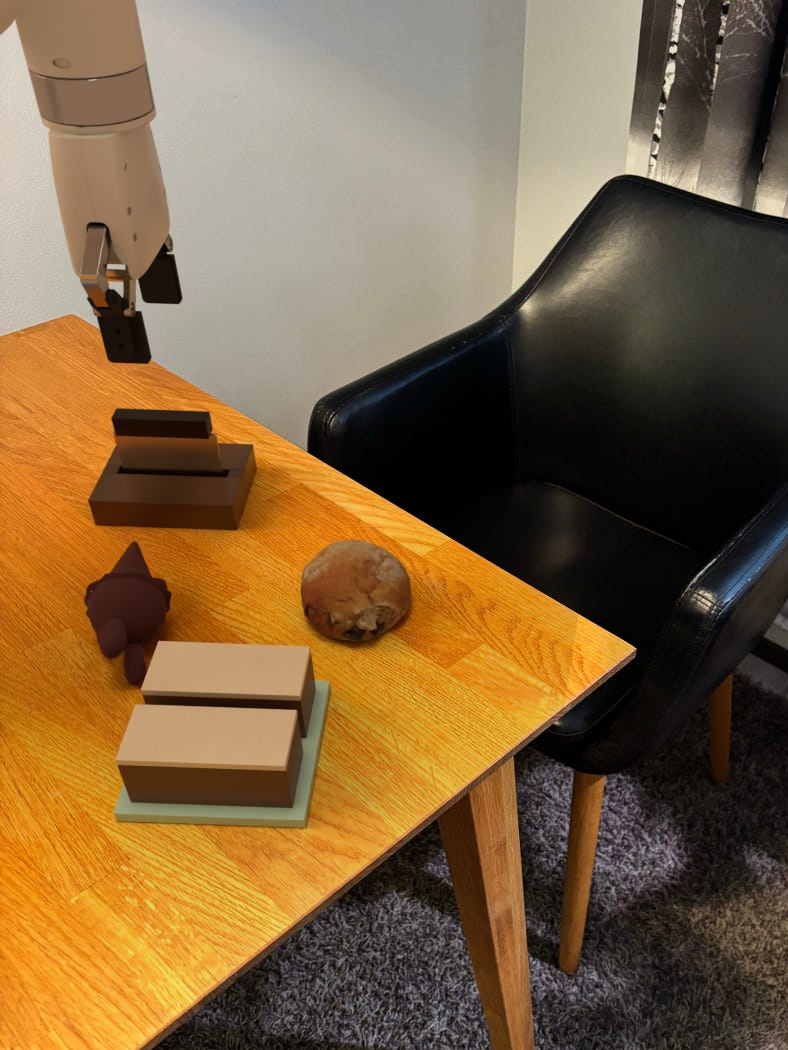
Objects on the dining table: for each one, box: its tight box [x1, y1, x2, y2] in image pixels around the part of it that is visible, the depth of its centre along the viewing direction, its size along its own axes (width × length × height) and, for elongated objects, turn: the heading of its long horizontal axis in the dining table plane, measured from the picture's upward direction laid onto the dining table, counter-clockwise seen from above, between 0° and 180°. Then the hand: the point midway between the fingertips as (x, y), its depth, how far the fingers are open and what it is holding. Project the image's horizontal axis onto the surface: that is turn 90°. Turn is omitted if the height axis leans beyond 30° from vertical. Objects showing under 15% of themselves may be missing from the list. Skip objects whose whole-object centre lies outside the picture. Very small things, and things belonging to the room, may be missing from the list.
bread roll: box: [300, 539, 412, 642], centre depth 90 cm, size 10×10×8 cm
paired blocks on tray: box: [112, 640, 332, 829], centre depth 77 cm, size 14×14×6 cm
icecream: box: [83, 540, 173, 687], centre depth 86 cm, size 7×7×15 cm
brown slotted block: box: [87, 442, 258, 531], centre depth 101 cm, size 14×11×3 cm
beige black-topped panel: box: [110, 407, 224, 477], centre depth 99 cm, size 10×2×10 cm, turn 89°
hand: (147, 330), depth 79 cm, fingers open, 9 cm apart
